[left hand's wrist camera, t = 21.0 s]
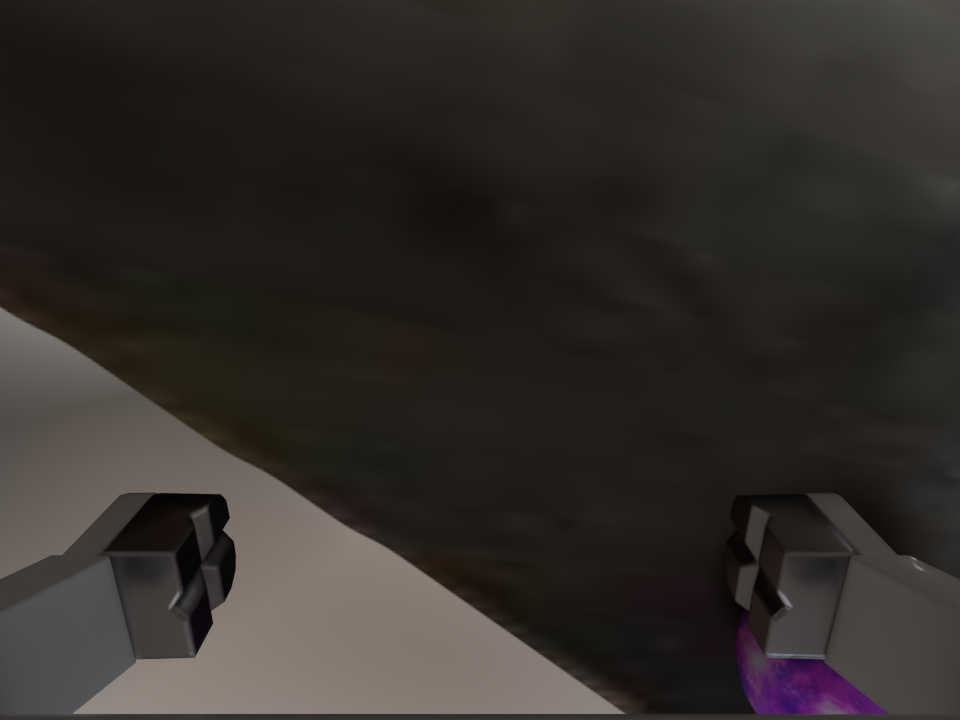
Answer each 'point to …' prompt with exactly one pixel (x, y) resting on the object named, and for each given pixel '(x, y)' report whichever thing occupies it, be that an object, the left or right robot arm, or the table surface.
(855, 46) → the table surface
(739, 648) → the decorative orb
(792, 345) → the table surface
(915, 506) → the table surface
